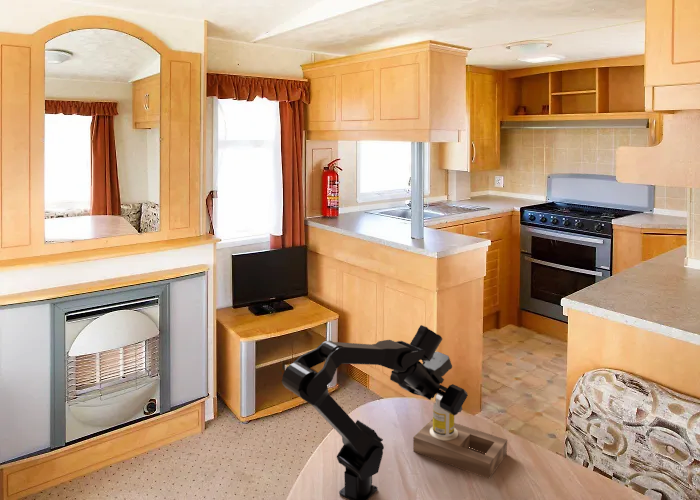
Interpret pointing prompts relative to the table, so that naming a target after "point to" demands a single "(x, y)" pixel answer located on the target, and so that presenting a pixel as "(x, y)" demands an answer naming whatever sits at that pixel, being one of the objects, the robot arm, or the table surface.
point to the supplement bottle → (442, 420)
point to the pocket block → (462, 448)
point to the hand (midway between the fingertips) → (447, 403)
